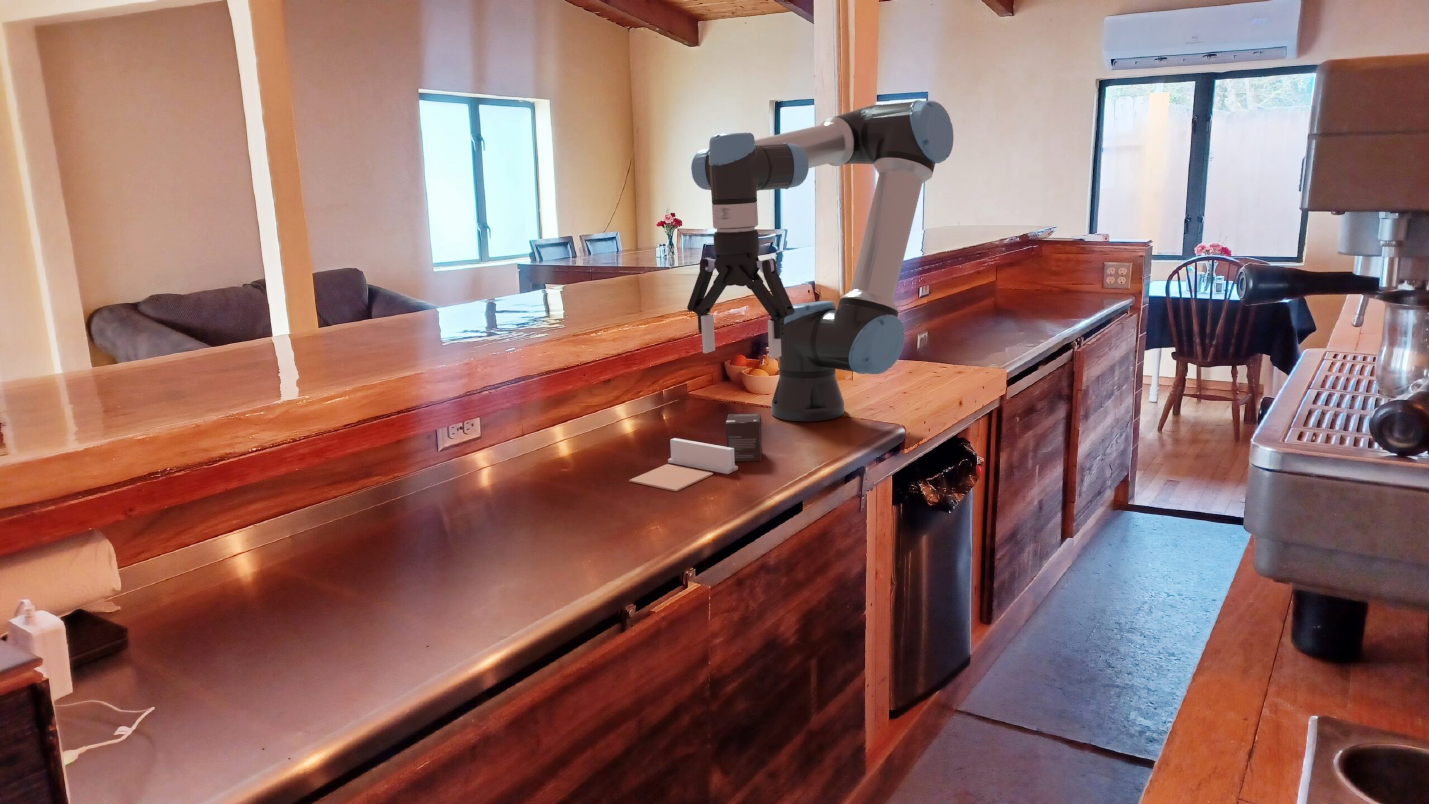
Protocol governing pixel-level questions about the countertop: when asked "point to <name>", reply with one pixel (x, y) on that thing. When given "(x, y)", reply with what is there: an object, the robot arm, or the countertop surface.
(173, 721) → the countertop surface
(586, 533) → the countertop surface
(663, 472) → the pad
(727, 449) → the divider wall
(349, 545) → the countertop surface
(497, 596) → the countertop surface
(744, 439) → the box
